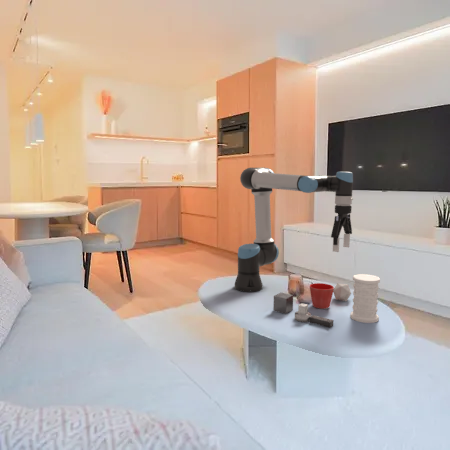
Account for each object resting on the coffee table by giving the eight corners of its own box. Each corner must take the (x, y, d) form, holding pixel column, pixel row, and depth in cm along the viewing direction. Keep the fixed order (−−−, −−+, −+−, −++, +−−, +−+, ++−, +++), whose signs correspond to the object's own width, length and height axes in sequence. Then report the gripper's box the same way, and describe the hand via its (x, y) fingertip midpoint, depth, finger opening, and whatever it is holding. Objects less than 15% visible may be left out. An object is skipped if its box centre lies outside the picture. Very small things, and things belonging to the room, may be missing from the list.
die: (342, 305, 185) (354, 289, 185) (327, 293, 189) (339, 278, 189) (344, 305, 192) (356, 290, 192) (330, 294, 196) (341, 279, 196)
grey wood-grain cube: (273, 310, 176) (273, 295, 175) (280, 306, 181) (280, 292, 180) (285, 313, 172) (286, 298, 171) (292, 309, 177) (293, 295, 176)
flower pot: (317, 300, 189) (317, 281, 188) (337, 306, 182) (338, 286, 180) (304, 306, 182) (305, 285, 181) (325, 312, 174) (326, 291, 173)
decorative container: (376, 325, 160) (378, 282, 157) (347, 319, 165) (349, 278, 163) (380, 315, 170) (382, 276, 167) (353, 311, 175) (355, 272, 173)
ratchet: (291, 319, 165) (291, 305, 164) (299, 315, 171) (299, 301, 170) (328, 329, 155) (328, 314, 154) (335, 324, 160) (335, 309, 160)
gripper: (341, 207, 170) (338, 254, 173) (360, 203, 189) (357, 246, 192) (324, 206, 174) (323, 252, 177) (345, 202, 194) (343, 244, 197)
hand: (341, 249), depth 185 cm, fingers open, 13 cm apart
